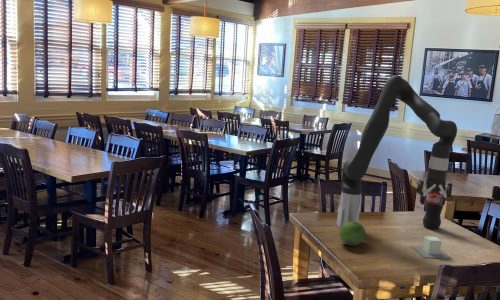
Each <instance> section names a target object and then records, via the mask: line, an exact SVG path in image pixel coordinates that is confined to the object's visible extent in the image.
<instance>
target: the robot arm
mask: <svg viewBox="0 0 500 300" xmlns="http://www.w3.org/2000/svg"><path fill="white" fill-rule="evenodd" d="M395 99H396V100H399V101H401V102H403V103H404V104H406V105H407V106H408V107H409V108H410V109H411V110H412V111H413V114H415V115H416V117H418V119H420V120H421V121H422V122H423V123H424V124H425V125H426V128H427V129H428V130H429V132H430V133H431V134H432V135H433V136H435V137H437V138H439V139H438V141H437V142H434V143H433V144H432V147H431V152H430V158H429V161H428V162H429V163H428V166H427V167H428V168H427V172H426V180H423V179H421V178H420V179H418V183H417V188H416V193H417V194H418V195H419V203H420V205H422V206H424V205H425V203H426V196H427V193H429V192H430V191H432V192H434V191H436V192H440V194H441V196H442V197H441V199H440V206H443V207H444V206H445V205H446V200H447V198H451V197H452V193H453V191H452V190H453V183H452V182H450V181H447V182H446V180H447V175H448V169H449V158H450V154H451V148H452V146H453V144H454V141H455V139H456V137H457V134H458V126H457V124H456V123H455V122H454V121H452V120H443V119H442V118H441V114H440V112H439V111H438V110H437V109H436V108H434V107H433V106H432V104H430V103H428V102H427V101H426V100H424V98H422V97H421V96H420V95H418V93H417V92H416V91H415V90H414V87H412V86H411V84H410V82H408V81H407V80H406V79H405V78H402V77H401V76H400V75H397V74H394V75H391V76H390V77H389V78H388V79H387V80H386V81H385V84H384V85H383V88H382V90H381V93H380V95H379V98H378V101H377V103H376V104H375V107H374V109H373V111H372V113H371V115H370V117H369V118H368V121H367V123H366V125H365V126H364V129H363V132H362V134H361V139H360V143H359V147H358V150H357V152H356V154H355V155H354V157H351V158H348V159H346V160H345V162H344V163H343V166H342V171H341V172H342V173H341V174H342V175H341V195H340V204H339V206H337V207H338V209H337V216H336V217H337V218H336V226H337V227H338V228H339V229H340V230H341V227H342V226H343V225H344V224H345V223H348V222H351V221H353V222H357V223H359V219H360V218H359V217H360V209H361V201H362V193H363V188H362V179H363V178H364V177H365V175H366V174H367V171H368V169H369V166H370V163H371V160H372V158H373V156H374V154H375V152H376V151H377V149H378V148H379V145H380V143H381V141H382V140H383V138H384V136H385V134H386V132H387V130H388V128H389V124H390V115H391V108H392V105H393V104H394V101H395ZM425 185H426V186H425ZM424 186H425V187H424ZM444 186H445V187H446V191H444V189H443V187H444Z"/></svg>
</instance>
